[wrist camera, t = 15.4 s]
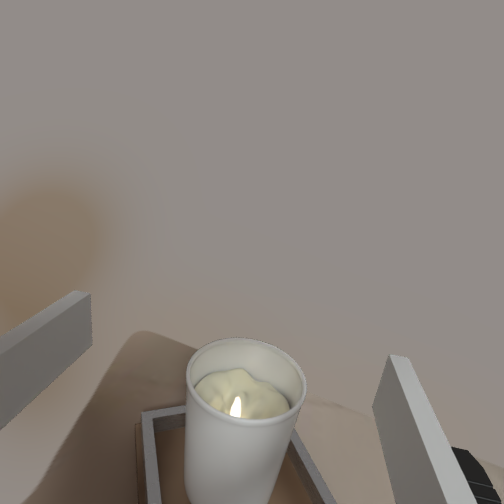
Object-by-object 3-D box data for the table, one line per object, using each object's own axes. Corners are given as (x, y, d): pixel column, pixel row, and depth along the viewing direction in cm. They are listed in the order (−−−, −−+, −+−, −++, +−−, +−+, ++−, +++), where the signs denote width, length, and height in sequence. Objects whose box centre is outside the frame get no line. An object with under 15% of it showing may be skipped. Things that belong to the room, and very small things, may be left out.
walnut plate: (271, 406, 41) (272, 400, 40) (349, 555, 27) (352, 547, 26) (135, 431, 35) (135, 424, 34) (145, 640, 21) (145, 631, 20)
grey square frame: (270, 404, 40) (273, 390, 39) (343, 542, 27) (349, 526, 26) (140, 427, 34) (141, 412, 33) (153, 618, 21) (155, 599, 20)
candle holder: (206, 418, 36) (219, 325, 32) (291, 456, 33) (316, 359, 30) (151, 502, 27) (160, 388, 24) (260, 563, 25) (290, 444, 21)
